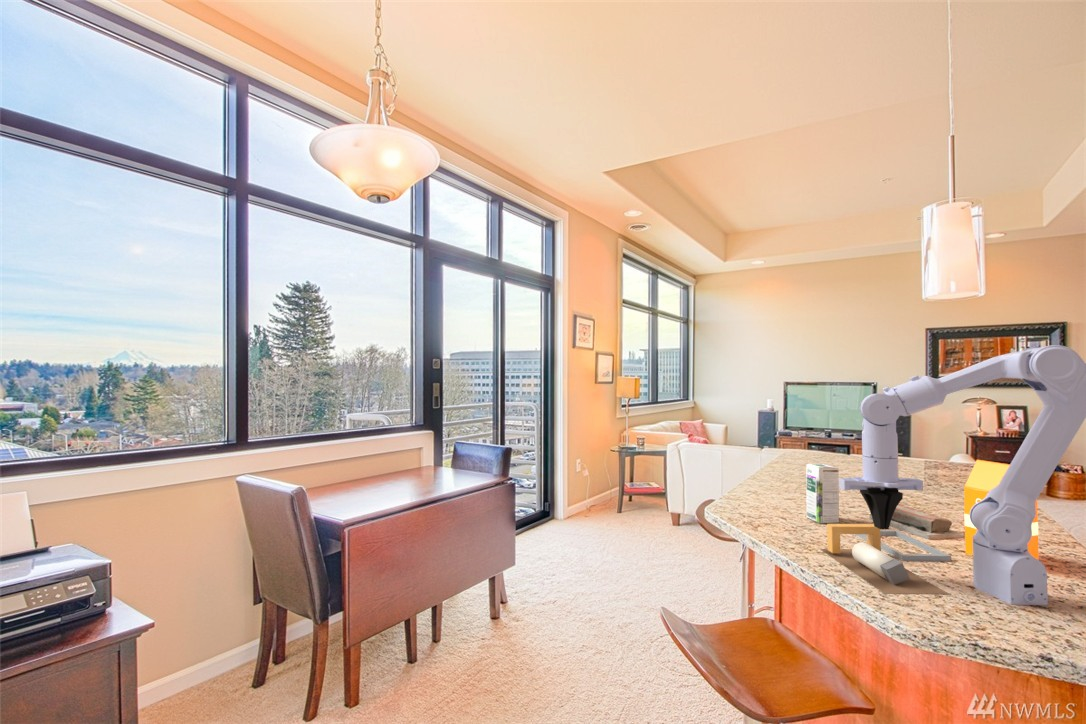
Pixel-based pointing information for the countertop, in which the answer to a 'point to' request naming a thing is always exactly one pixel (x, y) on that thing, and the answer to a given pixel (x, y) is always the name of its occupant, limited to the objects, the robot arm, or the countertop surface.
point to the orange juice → (977, 489)
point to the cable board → (906, 587)
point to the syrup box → (822, 493)
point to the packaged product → (922, 524)
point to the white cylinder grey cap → (880, 563)
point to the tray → (935, 555)
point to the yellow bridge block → (838, 529)
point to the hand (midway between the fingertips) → (881, 527)
